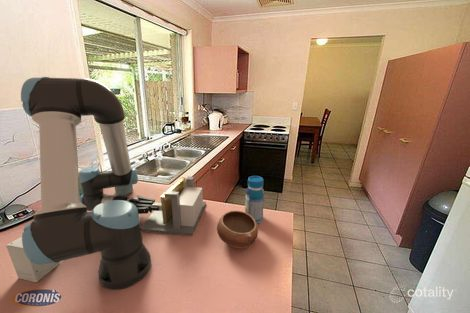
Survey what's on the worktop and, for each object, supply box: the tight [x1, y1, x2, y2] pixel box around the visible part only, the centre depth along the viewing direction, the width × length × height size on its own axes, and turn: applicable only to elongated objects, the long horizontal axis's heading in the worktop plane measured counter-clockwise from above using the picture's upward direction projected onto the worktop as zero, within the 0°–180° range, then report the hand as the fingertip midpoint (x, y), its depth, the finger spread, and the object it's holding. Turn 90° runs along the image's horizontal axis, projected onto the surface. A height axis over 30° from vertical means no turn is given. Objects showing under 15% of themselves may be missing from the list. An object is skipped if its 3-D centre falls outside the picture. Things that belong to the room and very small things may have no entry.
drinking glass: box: [114, 184, 134, 196], centre depth 116 cm, size 10×10×12 cm
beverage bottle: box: [244, 175, 265, 224], centre depth 94 cm, size 8×8×20 cm
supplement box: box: [5, 235, 60, 283], centre depth 66 cm, size 7×7×13 cm
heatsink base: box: [140, 176, 207, 236], centre depth 95 cm, size 22×24×17 cm
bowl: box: [216, 210, 259, 249], centre depth 82 cm, size 16×16×10 cm
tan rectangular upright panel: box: [160, 177, 187, 225], centre depth 96 cm, size 2×19×13 cm, turn 167°
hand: (167, 207), depth 92 cm, fingers closed
